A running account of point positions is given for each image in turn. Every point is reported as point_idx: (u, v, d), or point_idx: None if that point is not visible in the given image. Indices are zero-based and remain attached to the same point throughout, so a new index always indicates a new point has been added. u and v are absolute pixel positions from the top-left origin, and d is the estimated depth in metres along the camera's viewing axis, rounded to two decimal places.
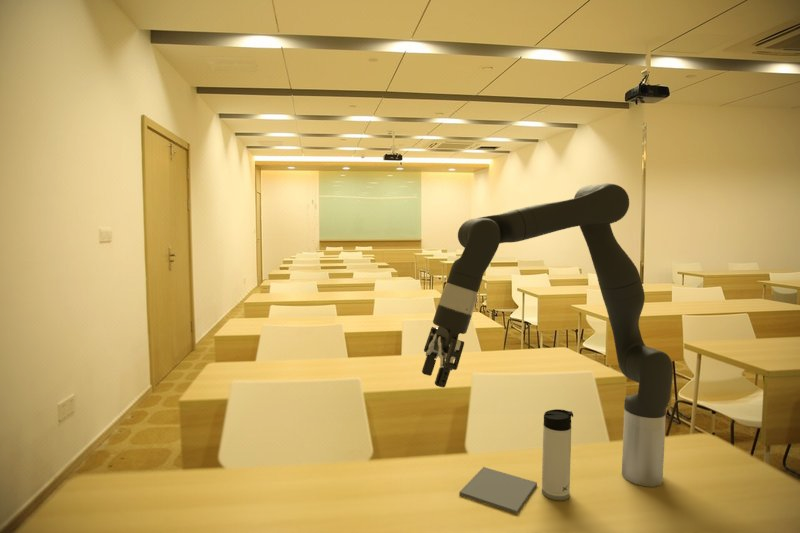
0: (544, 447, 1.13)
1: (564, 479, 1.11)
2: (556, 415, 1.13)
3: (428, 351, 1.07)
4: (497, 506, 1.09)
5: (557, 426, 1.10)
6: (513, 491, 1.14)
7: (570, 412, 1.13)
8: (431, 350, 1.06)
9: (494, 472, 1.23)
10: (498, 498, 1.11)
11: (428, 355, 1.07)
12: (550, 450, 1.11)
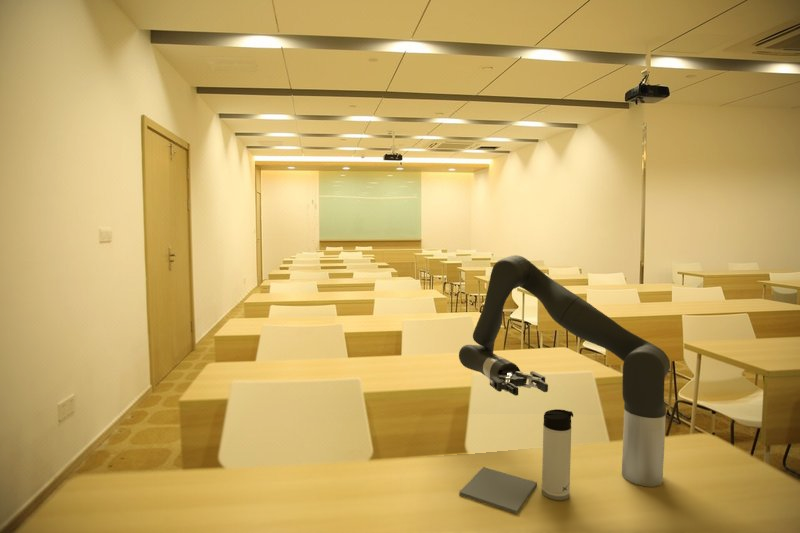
0: (544, 447, 1.13)
1: (564, 479, 1.11)
2: (556, 415, 1.13)
3: None
4: (497, 506, 1.09)
5: (557, 426, 1.10)
6: (513, 491, 1.14)
7: (570, 412, 1.13)
8: (530, 385, 1.30)
9: (494, 472, 1.23)
10: (498, 498, 1.11)
11: (536, 386, 1.29)
12: (550, 450, 1.11)
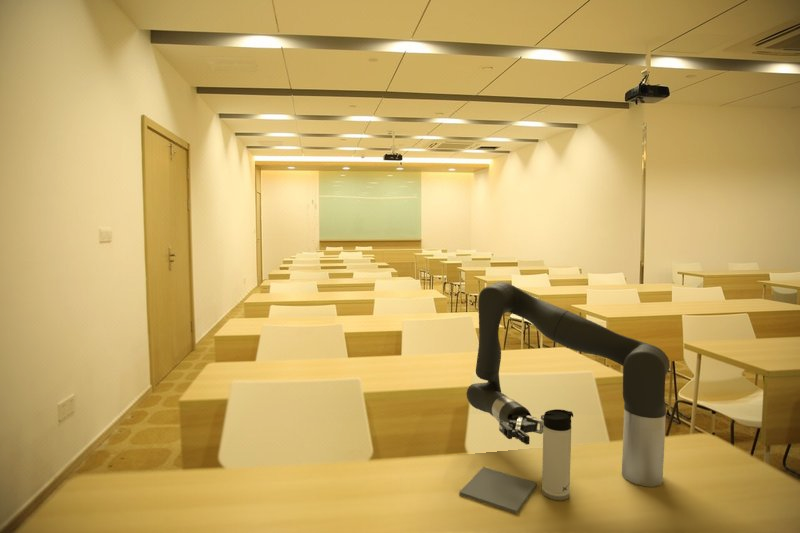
0: (544, 447, 1.13)
1: (564, 479, 1.11)
2: (556, 415, 1.13)
3: None
4: (497, 506, 1.09)
5: (557, 426, 1.10)
6: (513, 491, 1.14)
7: (570, 412, 1.13)
8: (541, 431, 1.26)
9: (494, 472, 1.23)
10: (498, 498, 1.11)
11: None
12: (550, 450, 1.11)
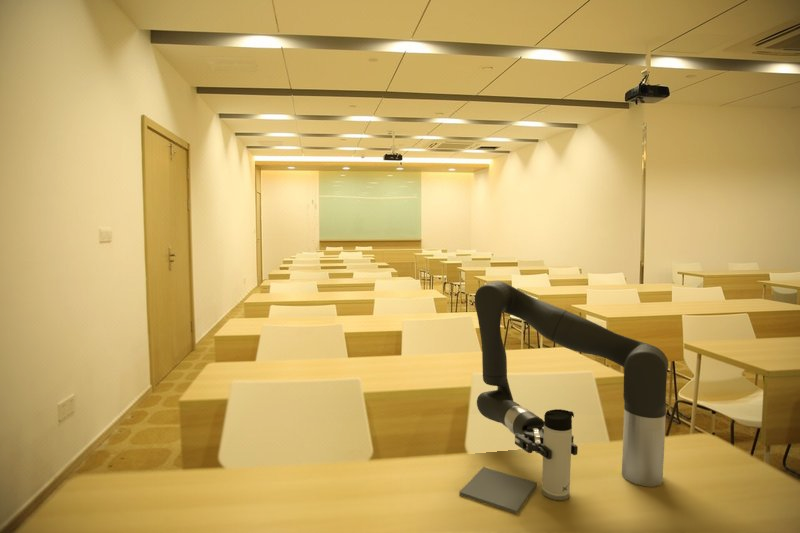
0: None
1: (564, 479, 1.11)
2: (557, 415, 1.13)
3: None
4: (497, 506, 1.09)
5: (558, 426, 1.10)
6: (513, 491, 1.14)
7: (571, 412, 1.12)
8: None
9: (494, 472, 1.23)
10: (498, 498, 1.11)
11: None
12: None
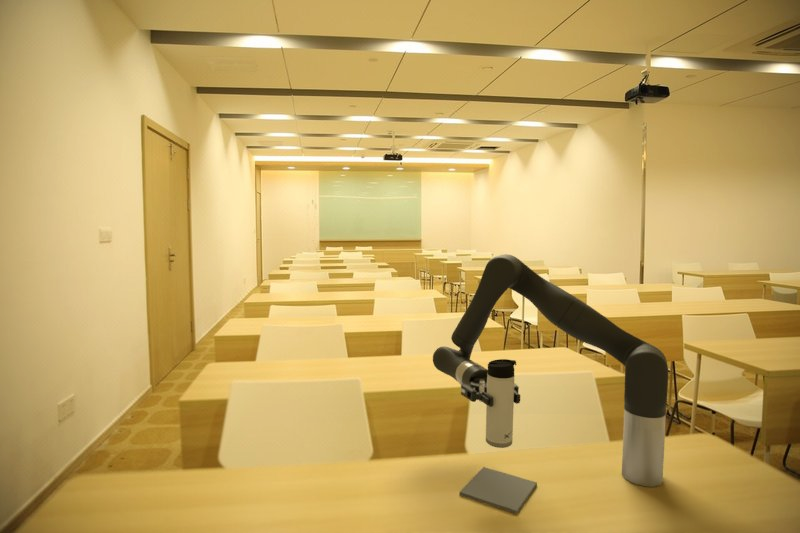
0: None
1: (505, 426, 1.12)
2: (500, 364, 1.14)
3: None
4: (497, 506, 1.09)
5: (500, 373, 1.11)
6: (513, 491, 1.14)
7: (513, 361, 1.13)
8: None
9: (494, 472, 1.23)
10: (498, 498, 1.11)
11: None
12: None
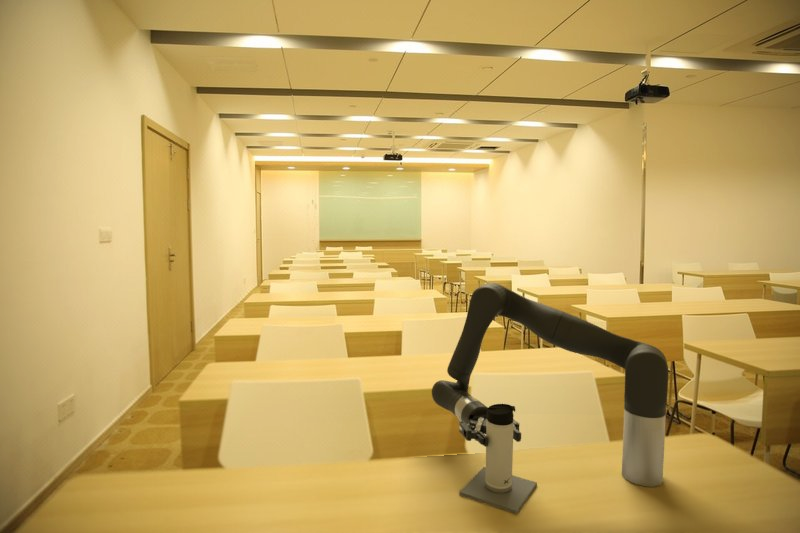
0: None
1: (505, 472, 1.13)
2: (499, 410, 1.14)
3: None
4: (497, 506, 1.09)
5: (499, 420, 1.11)
6: (513, 491, 1.14)
7: (512, 407, 1.14)
8: None
9: None
10: (498, 498, 1.11)
11: None
12: (492, 444, 1.13)
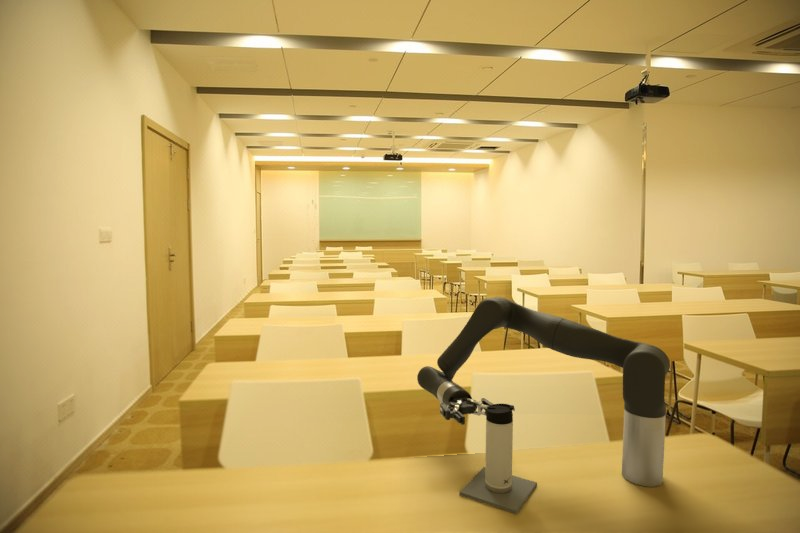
0: (486, 440, 1.15)
1: (505, 471, 1.13)
2: (498, 409, 1.15)
3: None
4: (497, 506, 1.09)
5: (498, 419, 1.12)
6: (513, 491, 1.14)
7: (512, 406, 1.14)
8: (479, 413, 1.32)
9: None
10: (498, 498, 1.11)
11: (485, 414, 1.31)
12: (491, 443, 1.13)
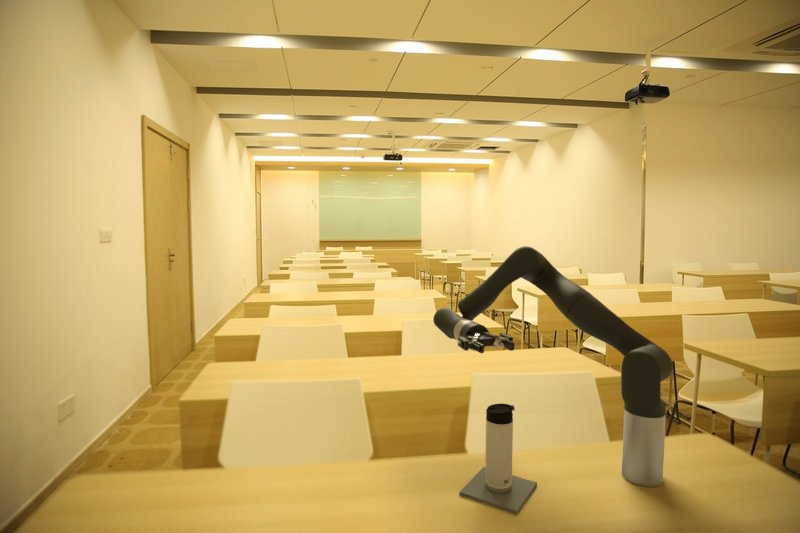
0: (486, 441, 1.15)
1: (505, 471, 1.13)
2: (498, 409, 1.15)
3: None
4: (497, 506, 1.09)
5: (498, 419, 1.12)
6: (513, 491, 1.14)
7: (512, 406, 1.14)
8: (498, 345, 1.30)
9: None
10: (498, 498, 1.11)
11: (504, 346, 1.29)
12: (491, 443, 1.13)
